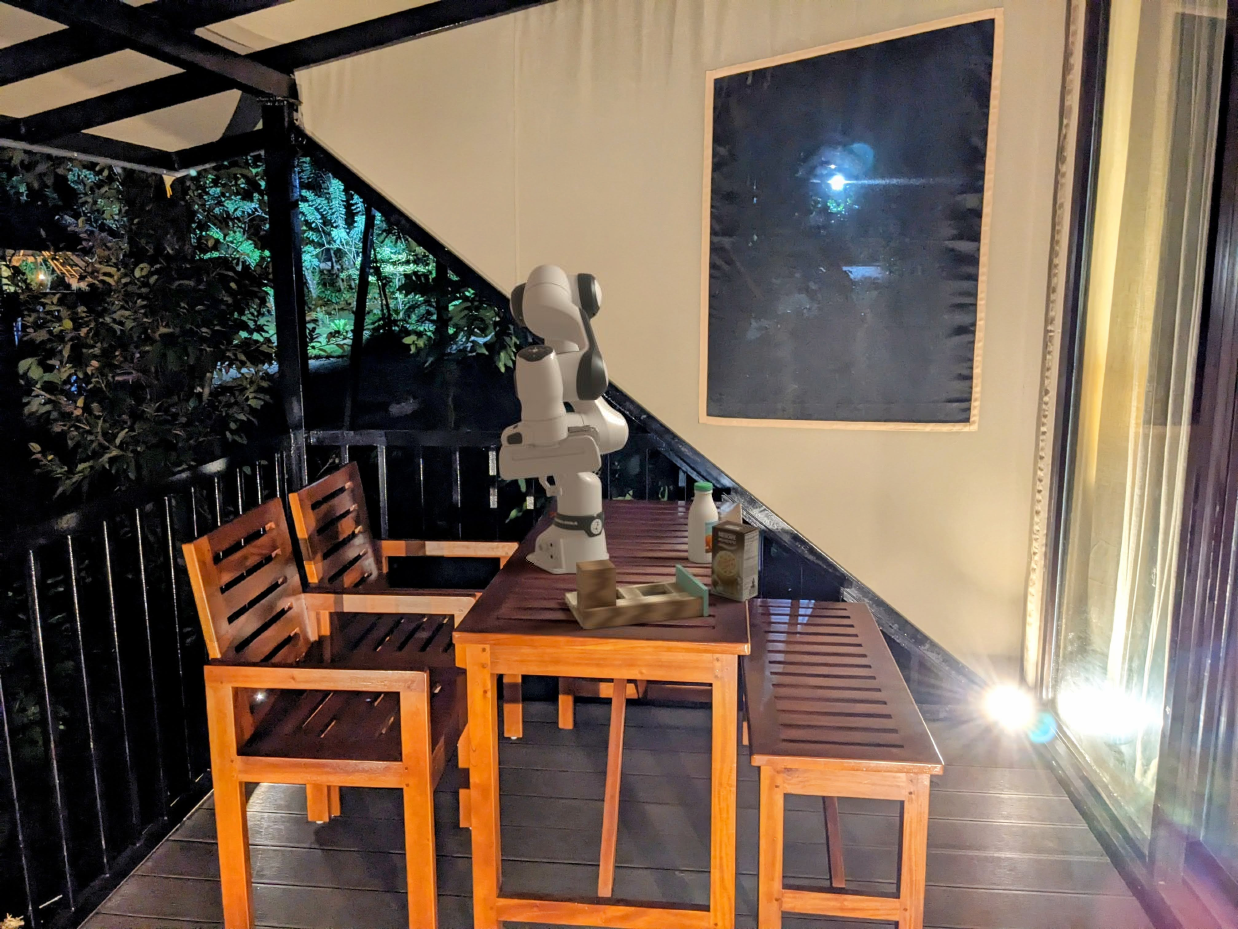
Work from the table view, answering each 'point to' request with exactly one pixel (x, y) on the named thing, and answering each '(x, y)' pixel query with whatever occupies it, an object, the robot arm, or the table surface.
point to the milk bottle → (701, 524)
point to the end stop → (692, 586)
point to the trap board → (639, 606)
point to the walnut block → (595, 584)
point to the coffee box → (734, 560)
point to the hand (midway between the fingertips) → (554, 495)
